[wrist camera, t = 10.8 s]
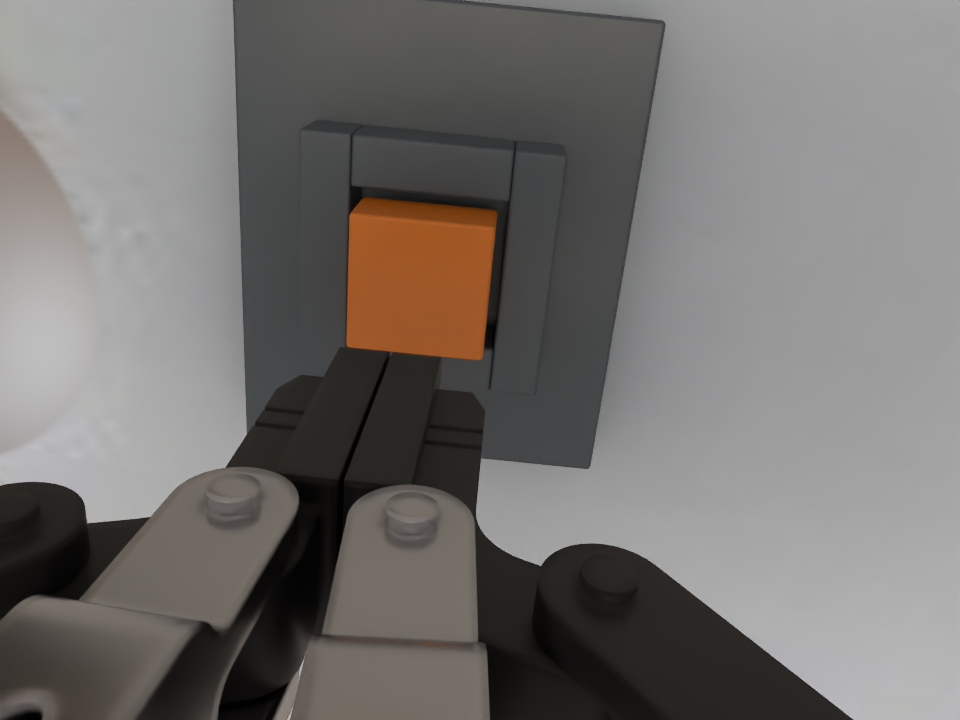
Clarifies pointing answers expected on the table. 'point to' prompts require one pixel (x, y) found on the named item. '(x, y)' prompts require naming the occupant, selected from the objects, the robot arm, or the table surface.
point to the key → (419, 277)
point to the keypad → (446, 186)
